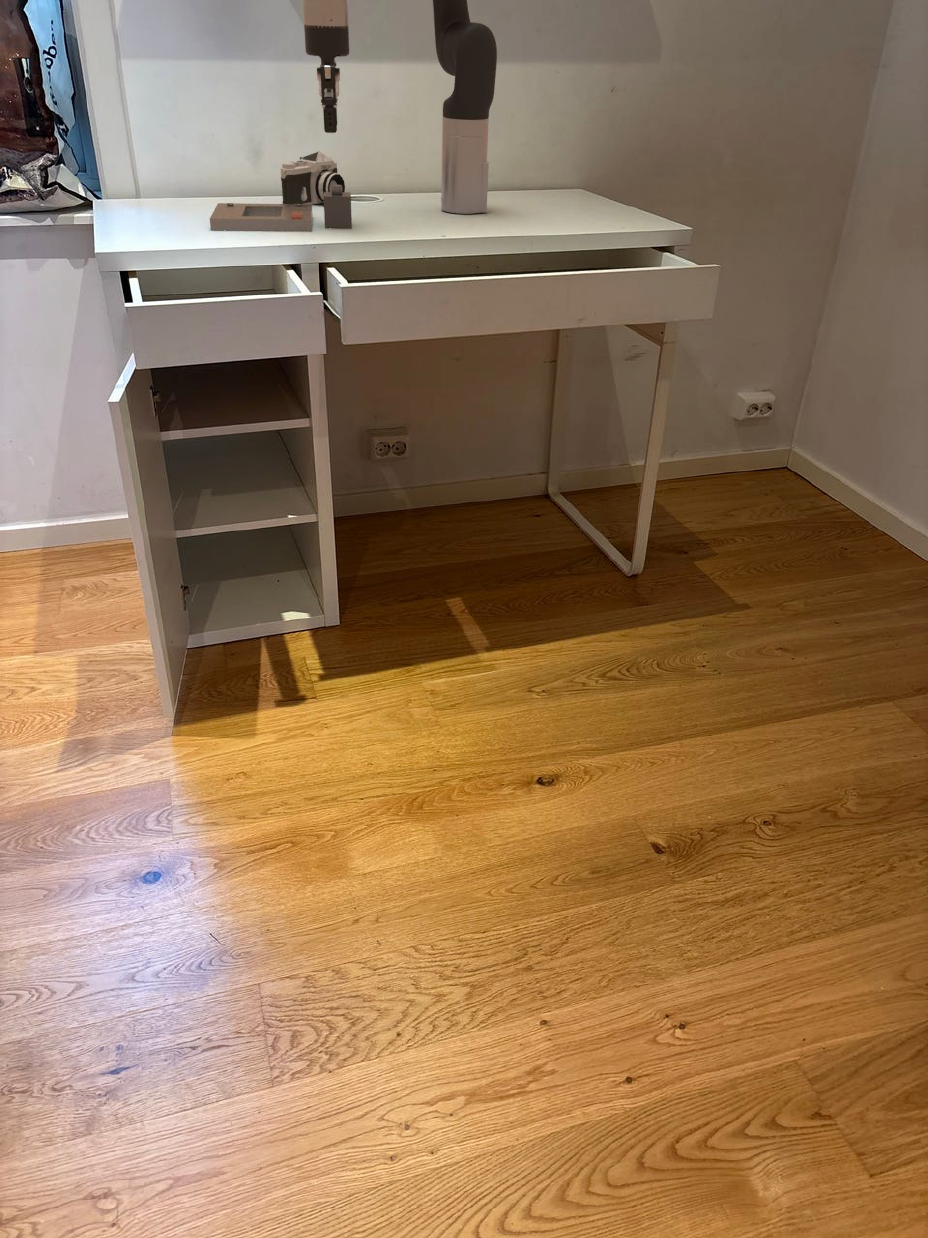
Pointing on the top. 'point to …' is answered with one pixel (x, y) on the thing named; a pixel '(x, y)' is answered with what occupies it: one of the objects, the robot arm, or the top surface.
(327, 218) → the plug
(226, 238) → the top surface
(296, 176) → the camera
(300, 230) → the socket plate
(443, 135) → the robot arm
